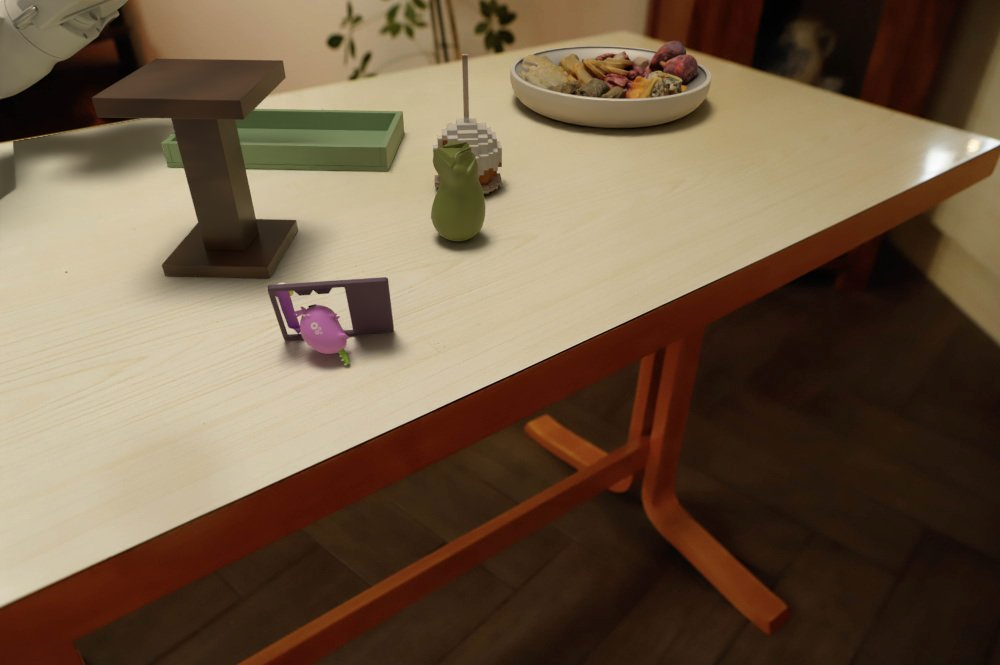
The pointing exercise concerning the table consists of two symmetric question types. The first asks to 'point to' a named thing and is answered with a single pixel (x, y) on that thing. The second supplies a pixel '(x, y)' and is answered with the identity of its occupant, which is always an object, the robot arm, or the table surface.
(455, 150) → the green rounded figure
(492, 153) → the decorative ornament
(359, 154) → the green tray
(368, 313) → the pop-out character card
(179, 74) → the walnut stand
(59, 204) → the table surface
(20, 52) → the robot arm
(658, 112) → the bowl
